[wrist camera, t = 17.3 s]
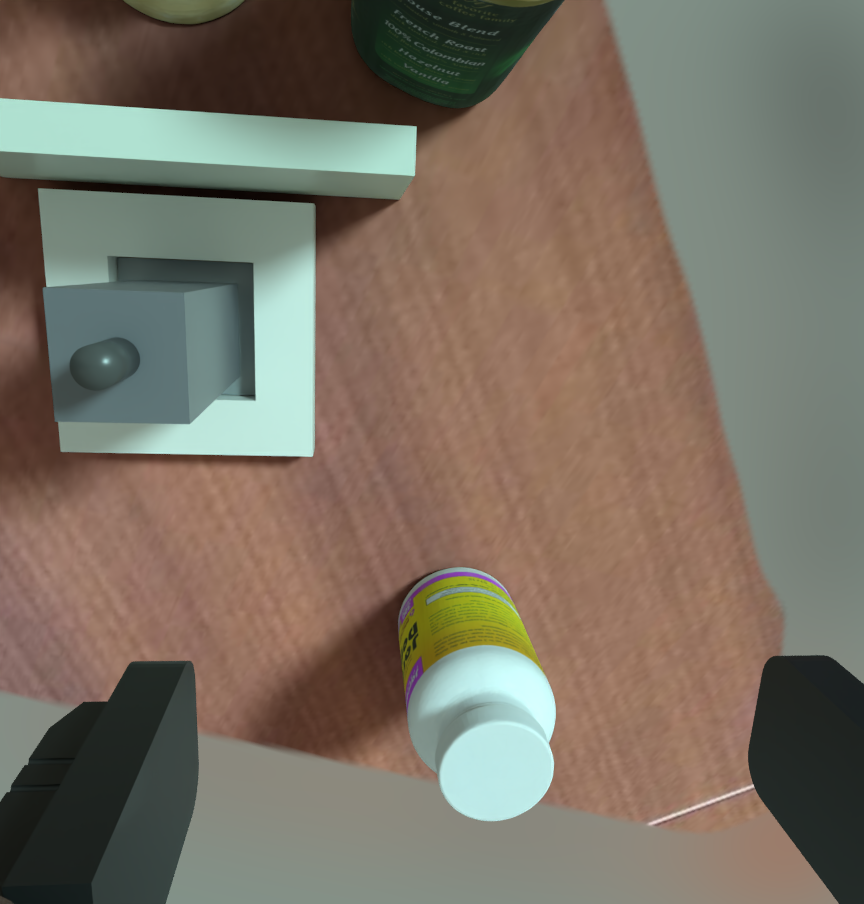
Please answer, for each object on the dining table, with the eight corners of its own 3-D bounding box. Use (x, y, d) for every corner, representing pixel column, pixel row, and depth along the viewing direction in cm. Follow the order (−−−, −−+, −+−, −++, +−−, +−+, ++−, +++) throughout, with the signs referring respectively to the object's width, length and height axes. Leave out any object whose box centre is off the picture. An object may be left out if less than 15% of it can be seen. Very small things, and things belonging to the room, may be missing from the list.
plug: (146, 376, 35) (24, 443, 22) (140, 279, 34) (8, 290, 21) (240, 379, 36) (172, 445, 23) (237, 283, 35) (165, 295, 22)
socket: (31, 443, 36) (-89, 509, 26) (2, 139, 32) (-149, 88, 23) (391, 450, 38) (402, 514, 28) (400, 164, 34) (416, 126, 25)
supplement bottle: (392, 568, 40) (407, 707, 27) (511, 557, 40) (578, 688, 28) (401, 675, 41) (419, 852, 29) (514, 663, 42) (579, 831, 30)
